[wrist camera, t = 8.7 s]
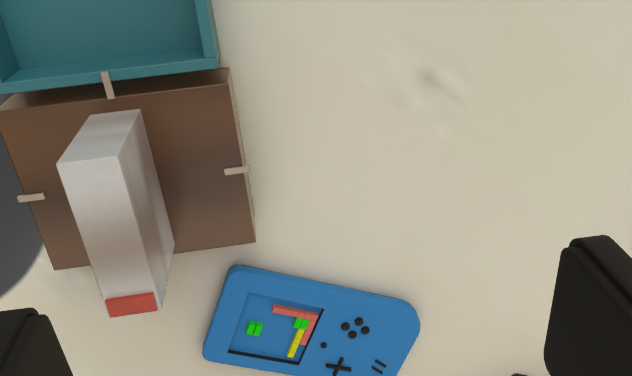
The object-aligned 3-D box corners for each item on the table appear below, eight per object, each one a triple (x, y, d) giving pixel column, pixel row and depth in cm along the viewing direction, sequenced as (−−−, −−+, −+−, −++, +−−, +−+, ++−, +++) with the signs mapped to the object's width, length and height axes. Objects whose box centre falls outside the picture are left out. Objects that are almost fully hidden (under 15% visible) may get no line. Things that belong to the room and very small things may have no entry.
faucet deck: (-2, 70, 30) (-27, 88, 27) (232, 42, 31) (231, 57, 28) (69, 261, 36) (54, 291, 33) (263, 234, 37) (264, 261, 34)
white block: (89, 114, 29) (53, 166, 23) (140, 108, 29) (116, 158, 23) (130, 249, 33) (108, 321, 27) (175, 243, 33) (161, 313, 27)
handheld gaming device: (388, 394, 43) (199, 363, 40) (385, 383, 44) (200, 351, 41) (432, 314, 40) (230, 272, 36) (428, 305, 41) (230, 262, 37)
